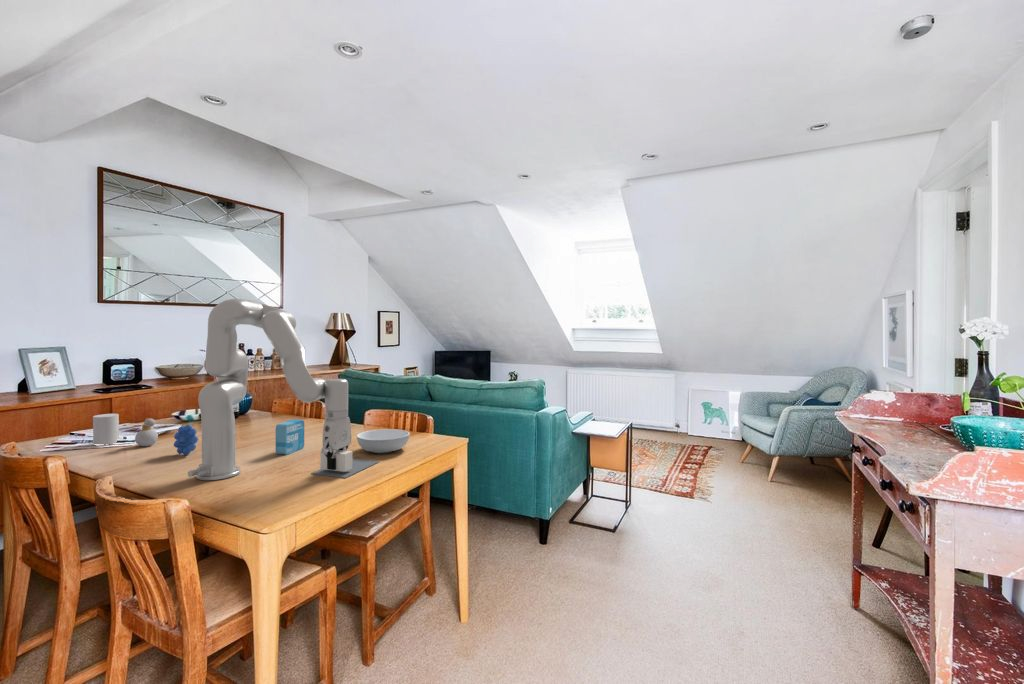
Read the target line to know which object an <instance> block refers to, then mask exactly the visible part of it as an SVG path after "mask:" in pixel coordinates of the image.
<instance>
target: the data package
mask: <svg viewBox="0 0 1024 684" xmlns="http://www.w3.org/2000/svg"><path fill="white" fill-rule="evenodd" d="M303 448H305V421H304V419H295V418H294V419H289V420H287V421H284V422H280V423H277V424H276V426H275V454H276V455H284V456H285V455H290V454H293V453H295V452H298V451H301V450H302V449H303Z"/></svg>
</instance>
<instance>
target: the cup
mask: <svg viewBox="0 0 1024 684" xmlns="http://www.w3.org/2000/svg"><path fill="white" fill-rule="evenodd" d="M119 416H120V415H119V413H103V414H96V415H93V416H92V439H93V440H92V441H93V442H92V444H93V443H94V444H104V445H106V444H113V443H116V442H117V439H118V438H119V439H120V420H119V419H120V417H119Z"/></svg>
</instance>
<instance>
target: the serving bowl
mask: <svg viewBox="0 0 1024 684" xmlns="http://www.w3.org/2000/svg"><path fill="white" fill-rule="evenodd" d="M356 440H357V443H358V445H359V447H360V448H362V450H365V451H366V452H371V453H374V454H388V453H389V454H390V453H392V451H393V452H394V451H398V450H400V449H402V448H403V447H404V446H406V445H407V444H408V442H409V440H410V432H409V431H407V430H404V429H397V428H395V429H393V428H391V429H390V428H389V429H388V428H385V429H380V428H379V429H372V430H367V431H363V432H360V433H357V435H356Z"/></svg>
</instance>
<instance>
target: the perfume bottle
mask: <svg viewBox="0 0 1024 684" xmlns="http://www.w3.org/2000/svg"><path fill="white" fill-rule="evenodd" d="M155 424H156V420H155V419H154V418H148V417H146V418H145V419H144V421H143V424H141V426H142V427H141V430H139V431H138V432H137V433H136V434H135V437H134V441H135V443H136V445H138V446H139V447H151V446H153V445H154V444H156V443H157V441H158V439H159V434H158V432H157V431H156V430H155V429H153V428H152V427H153V426H154V425H155Z"/></svg>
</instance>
